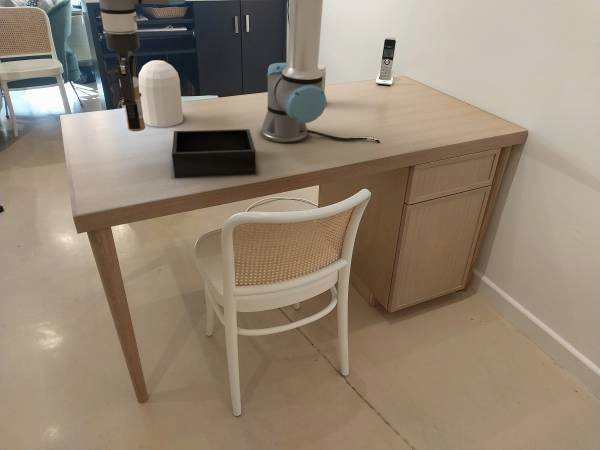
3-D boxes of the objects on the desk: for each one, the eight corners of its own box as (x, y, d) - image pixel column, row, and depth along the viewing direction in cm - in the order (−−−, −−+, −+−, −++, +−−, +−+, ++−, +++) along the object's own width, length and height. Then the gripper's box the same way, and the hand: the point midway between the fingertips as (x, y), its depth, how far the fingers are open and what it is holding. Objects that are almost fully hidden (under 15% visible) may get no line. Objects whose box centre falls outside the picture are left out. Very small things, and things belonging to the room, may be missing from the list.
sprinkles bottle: (142, 124, 123) (135, 74, 115) (147, 130, 120) (140, 79, 112) (125, 127, 121) (116, 76, 113) (130, 133, 118) (121, 81, 110)
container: (180, 112, 164) (175, 55, 153) (186, 125, 153) (180, 65, 142) (142, 114, 159) (133, 56, 148) (145, 128, 149) (136, 66, 138)
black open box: (249, 150, 139) (249, 129, 135) (255, 174, 126) (255, 151, 122) (176, 153, 135) (173, 130, 131) (174, 177, 122) (171, 154, 118)
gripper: (134, 39, 100) (148, 137, 113) (141, 24, 115) (152, 113, 127) (98, 38, 99) (116, 138, 112) (110, 24, 113) (125, 114, 126)
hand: (135, 124), depth 120 cm, fingers closed on sprinkles bottle, 4 cm apart
